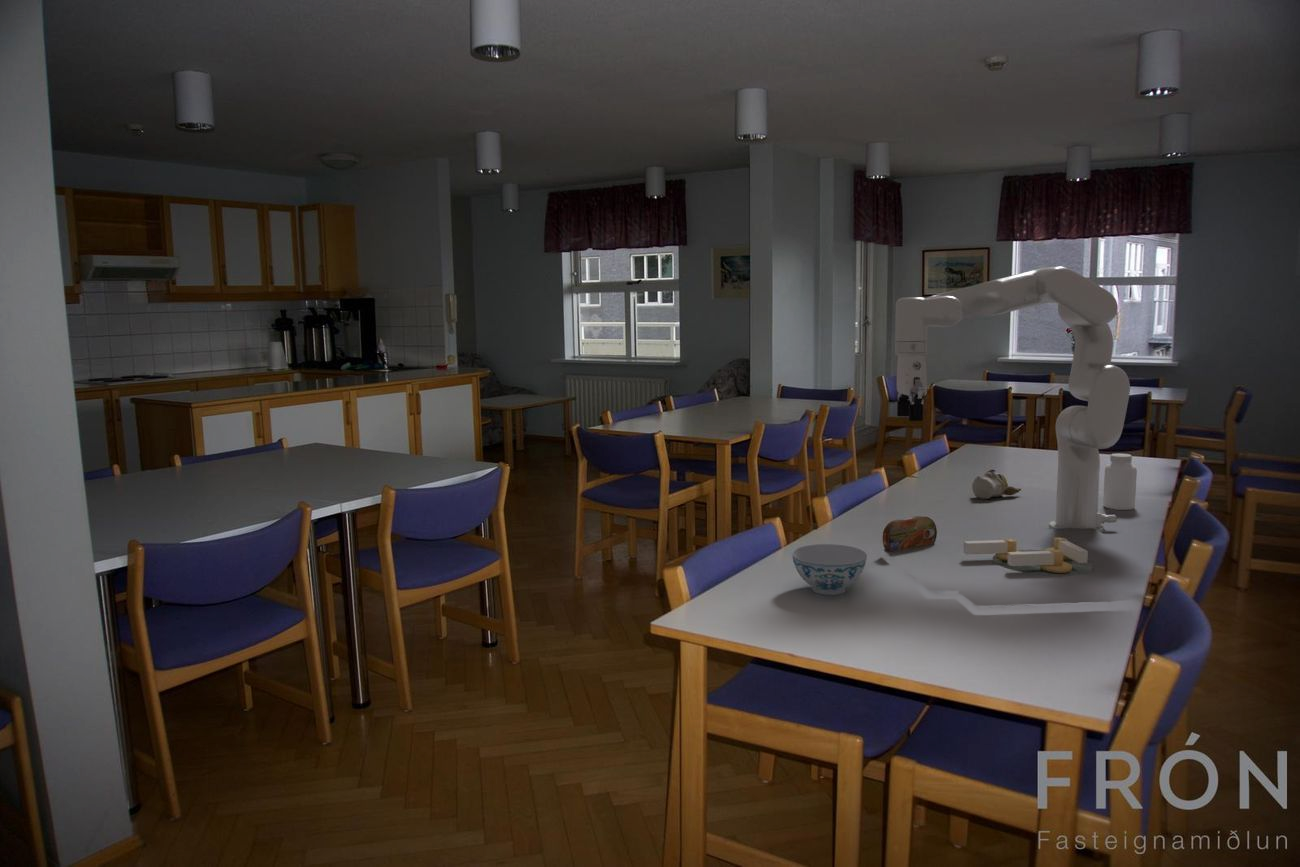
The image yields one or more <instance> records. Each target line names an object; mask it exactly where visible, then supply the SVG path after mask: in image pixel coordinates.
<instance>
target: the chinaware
mask: <svg viewBox="0 0 1300 867" xmlns="http://www.w3.org/2000/svg"><path fill="white" fill-rule="evenodd" d="M791 556H792V560H793V564H794V567H795V569H796V571H797V573H798V575H799V576H800V577H801V579H802V580H803V581H804V582H805V583H806V584H808V585H809V586H811V587H812V588H811V589H812V591H813V592H814V593H816V594H819V595H826V596H836V595H842V594H844V593H845V592H846V589H847V588H848V587H849V586H851V585H853V584H854V583H855V582H856V581H857V580H858V579H859V577H860V576H861V574H862V572H863V570H864V568H865V565H866V561H867V559H868V558H867V557H868V555H867V553H866V552H865V551H864V550H862V549H860V548H857V547H854V546H849V545H843V544H832V543H830V544H829V543H821V544H819V543H818V544H810V545H809V544H807V545H802V546H800V547H797V548H794V550H792V552H791Z"/></svg>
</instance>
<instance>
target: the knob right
mask: <svg viewBox="0 0 1300 867" xmlns="http://www.w3.org/2000/svg"><path fill="white" fill-rule="evenodd" d="M1050 550H1061V551H1063V559H1072V560H1074V561H1076V562H1078V563H1087V561H1088V557H1089V551H1088V550H1086V549H1084V548H1082V547H1081V546H1079V545H1077V544H1074V543H1072V542H1071V541H1069V540H1068V539H1067V538H1065V537H1059V536H1058V537H1053V547H1047V548H1045V550H1044V551H1050Z"/></svg>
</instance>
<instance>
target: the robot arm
mask: <svg viewBox="0 0 1300 867" xmlns="http://www.w3.org/2000/svg"><path fill="white" fill-rule="evenodd" d="M1048 303H1050V304H1051V303H1056V304H1057V311H1058V313H1057V314H1058V315H1059V317H1060V318H1061V320H1062V321H1063V322H1064V323H1065V324H1066V325H1067V326H1068V327H1069V329H1070V330H1071V332H1072V334H1073V338H1074V350H1073V355H1072V356H1073V357H1072V362H1071V368H1070V374H1069V379H1068V391H1069V393H1070V394H1071V395H1072V396H1073V397H1074V398H1075V399H1078V400H1081V401H1085V402H1087V406H1086V405H1071V406H1068V407H1066V408H1064V409H1063V410H1062V411H1061V412H1060V413H1059V414H1058V416H1057V417H1056V422H1055V435H1056V442H1057V451H1058V452H1057V474H1056V476H1057V477H1056V480H1057V481H1056V500H1055V501H1056V503H1055V504H1056V505H1055V507H1056V508H1055V520H1051V521H1050V522H1049V523H1048V528H1049V530H1054V529H1078V530H1083V529H1085V530H1087V529H1091V530H1094V531H1096V532H1099V533H1104V531H1105V528H1104V526H1103V525H1104V524H1105V523H1110V524H1111V523H1117V520H1118V518H1117V516H1116V514H1107V515H1106V514H1105V513H1102V512H1099V511H1098V509H1099V487H1100V483H1099V482H1100V469H1101V463H1100V462H1101V461H1100V460H1101V458H1100V452H1099V450H1105V449H1109V448H1111V447H1113V446H1114V445H1115V444H1116V443H1117V442H1118V441H1119V440H1120V438H1121V435H1122V433H1123V429H1124V426H1125V424H1124V423H1125V420H1126V414H1127V410H1128V409H1127V408H1128V404H1129V399H1130V392H1131V384H1130V379H1129V377H1128V375H1127V372H1126V371H1124V369H1122V368H1121V367H1119V366H1118V365H1114V364H1112V357H1113V356H1112V355H1113V350H1114V349H1113V348H1114V337H1113V332H1112V330H1111V327H1110V325H1109V323H1111V322H1112V321H1113V319H1115V317H1116V316H1117V313H1118V302H1117V299H1116V298H1115V296H1114V295H1113V294H1112V293H1111V292H1110V291H1109V290H1107V289H1105V288H1104V287H1102V286H1100V285H1098V283H1095V282H1093V281H1092V280H1090V279H1088V278H1087V277H1085V276H1083V275H1082V274H1081V273H1079V272H1077V271H1075V270H1073V269H1070V268H1068V267H1065V266H1051V267H1041V268H1038V269H1037V268H1036V269H1032V270H1029V271H1028V270H1027V271H1025V272H1021V273H1017V274H1013V275H1009V276H1006V277H1002V278H997V279H993V280H990V281H985V282H981V283H978V284H974V285H971V286H967V287H963V288H958V289H955V290H950V291H946V292H941V293H938V294H934V295H931V296H927V297H921V296H920V297H919V296H918V297H917V296H915V297H914V296H913V297H909V296H908V297H900V298H898V299H897V300H896V301H895V322H894V324H895V325H894V326H895V330H894V334H895V336H894V356H895V355H896V356H897V364H896V391H897V397H896V398H897V403H896V404H897V409H896V410H897V411H896V413H897V414H896V416H897V417H908V421H910V422H922V421H923V420H924V419H923V418H924V397H925V396H926V395H927V394H928V375H927V374H928V372H927V360H926V359H927V358H926V356H927V355H928V328H929V327H934V328H935V327H937V328H949V327H953V326H955V325H958V323H959V322H961V321H962V320H963V319H967V318H968V319H969V318H975V317H991V316H998V315H1003V314H1008V313H1011V312H1014V311H1019V310H1022V309H1026V308H1031V307H1035V306H1039V305H1042V304H1048Z"/></svg>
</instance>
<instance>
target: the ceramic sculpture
mask: <svg viewBox="0 0 1300 867" xmlns="http://www.w3.org/2000/svg"><path fill="white" fill-rule="evenodd" d="M971 485H972V487H971V488H972V493H973V495H974V496H975V498H978V499H981V500H990V498H997V497H998V498H999V497H1002V496H1013V495H1016V494H1018V493H1019V492H1021V491H1022V488H1016V487H1014V486H1009V485H1008V481H1007V479H1006V477H1005V475H1003V474H1001V473H998V472H997V471H996V470H995V469H990V470H988V471H986V472H985V473H984V475H983V476H980V475H977V476H976V477H975V478H974V480H973V483H972V484H971Z"/></svg>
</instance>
